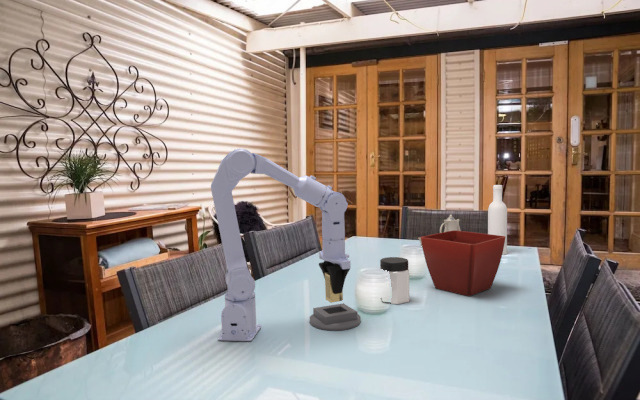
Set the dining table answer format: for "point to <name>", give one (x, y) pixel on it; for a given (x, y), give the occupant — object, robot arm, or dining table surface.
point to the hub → (335, 318)
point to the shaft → (329, 292)
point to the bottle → (498, 216)
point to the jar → (397, 278)
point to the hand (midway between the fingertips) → (334, 291)
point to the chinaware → (449, 225)
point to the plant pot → (463, 260)
